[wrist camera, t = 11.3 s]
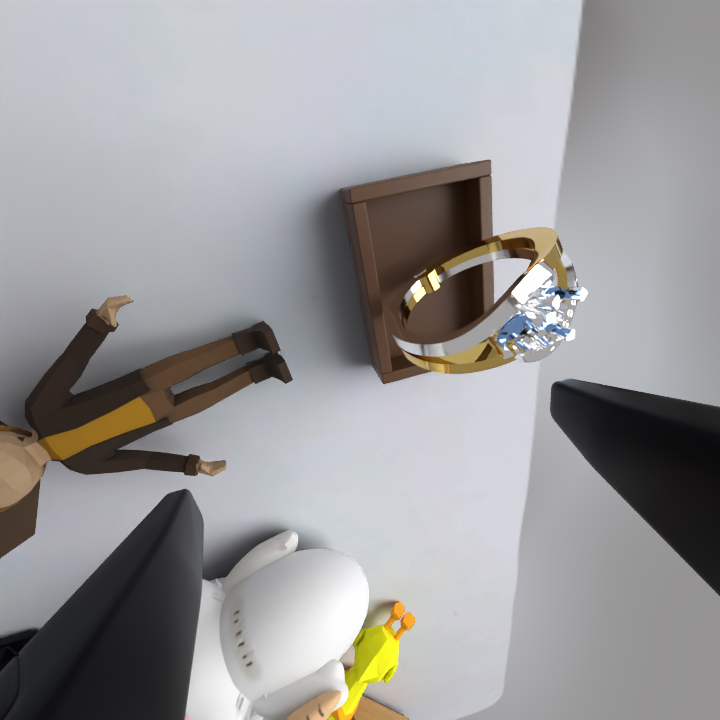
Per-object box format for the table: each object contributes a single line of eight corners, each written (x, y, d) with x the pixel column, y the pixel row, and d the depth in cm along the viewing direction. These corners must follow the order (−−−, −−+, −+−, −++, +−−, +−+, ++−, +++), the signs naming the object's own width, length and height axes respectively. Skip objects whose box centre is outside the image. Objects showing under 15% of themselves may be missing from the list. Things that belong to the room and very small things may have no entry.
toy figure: (430, 614, 31) (347, 726, 32) (397, 581, 33) (318, 688, 33) (413, 654, 25) (310, 793, 26) (373, 611, 27) (277, 743, 27)
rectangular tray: (474, 339, 22) (495, 354, 20) (372, 366, 21) (383, 384, 19) (466, 163, 18) (491, 159, 16) (339, 188, 17) (348, 188, 15)
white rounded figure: (406, 687, 17) (71, 899, 15) (406, 662, 24) (176, 804, 21) (325, 493, 22) (65, 628, 20) (344, 518, 29) (152, 621, 26)
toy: (330, 457, 18) (-41, 658, 13) (290, 396, 24) (28, 520, 20) (250, 259, 13) (-328, 463, 9) (227, 247, 20) (-124, 366, 16)
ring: (377, 345, 18) (484, 427, 12) (346, 290, 17) (449, 348, 10) (485, 267, 19) (647, 300, 12) (466, 208, 18) (638, 208, 11)
